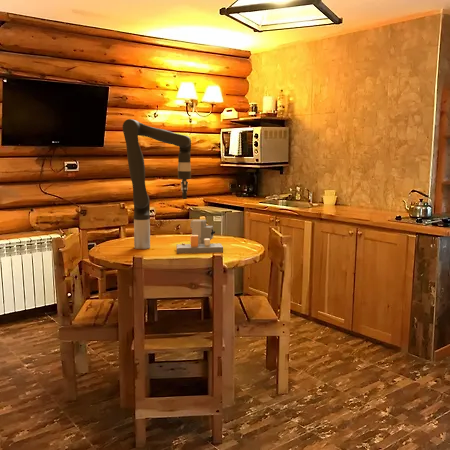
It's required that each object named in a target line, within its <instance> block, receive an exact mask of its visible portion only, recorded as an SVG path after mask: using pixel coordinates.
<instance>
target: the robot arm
mask: <svg viewBox="0 0 450 450" xmlns="http://www.w3.org/2000/svg"><path fill="white" fill-rule="evenodd" d="M121 128H122V133H123V137H124V141H125V145H126V155H127V165H128V170H129V176H130V180H131V181H130V182H131V184H132V194H133V195H132V198H133V199H132V202H133V240H134V241H133V243H134V244H133V247H134V249H136V250H137V249H139V250H146V249H150V248H151V224H150V223H151V220H150V216H151V215H150V213H151V211H150V207H151V206H150V197H149V194H148V191H147V186H146V167H145V159H144V155H143V152H142V149H141V146H140V144H139V137H140V136H141V137H147V138H148V139H149V138H150V139H152V140H155V141H158V142H161V143H165V144H169V145H172V146H173V145H174V146H176V147H179V149H178V150H179V152H178V155H177V157H178V158H177V159H178V161H177V163H178V164H177V178H178V179H180V180H181V181H180V186H181V187H180V189H181V192H182V193H181V196H182V199H183V200H187V199H188V198H187V197H188V195H187V194H188V189H189V187H188V186H189V182H188V180H189V179H191V178H192V164H191V152H192V140H191V138H190V136H188V135H185V134H179V133H175V132H173V131H171V130H166V129H162V128H159V127H157V128H156V127H152V126H149V125H146V124H144V123H141V122H140V121H138V120H136V119H131V118H129V119H128V118H127V119H126V120H124V122H123V123H122V127H121Z"/></svg>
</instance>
